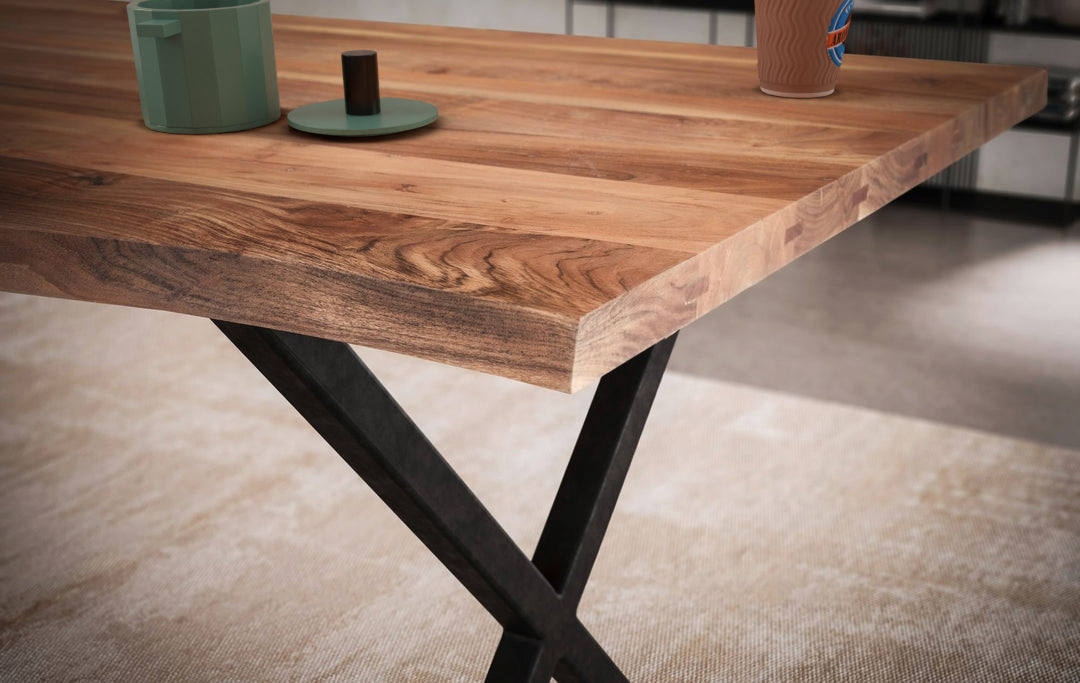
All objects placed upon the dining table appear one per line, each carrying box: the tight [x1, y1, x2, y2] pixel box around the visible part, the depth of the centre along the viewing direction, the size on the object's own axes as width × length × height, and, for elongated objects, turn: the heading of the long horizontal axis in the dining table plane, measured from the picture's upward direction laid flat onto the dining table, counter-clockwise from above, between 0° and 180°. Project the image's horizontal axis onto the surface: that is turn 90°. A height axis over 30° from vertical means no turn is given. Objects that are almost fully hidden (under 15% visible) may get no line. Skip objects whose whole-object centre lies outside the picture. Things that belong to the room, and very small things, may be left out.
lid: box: [286, 49, 440, 138], centre depth 99 cm, size 13×13×6 cm
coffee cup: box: [754, 0, 855, 99], centre depth 109 cm, size 10×10×12 cm
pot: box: [126, 0, 282, 135], centre depth 101 cm, size 12×17×10 cm
